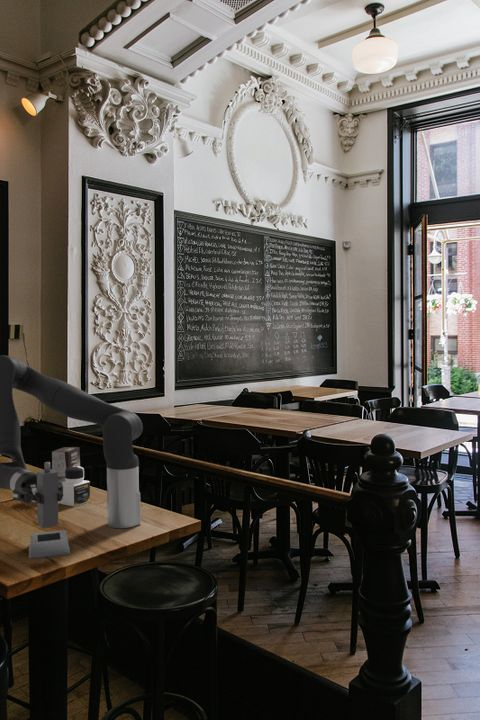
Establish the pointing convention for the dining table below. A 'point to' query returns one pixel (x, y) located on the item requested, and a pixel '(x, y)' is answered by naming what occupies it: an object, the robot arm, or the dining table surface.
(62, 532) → the socket
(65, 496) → the medicine bottle
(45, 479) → the plug
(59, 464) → the coffee box
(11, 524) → the dining table surface
